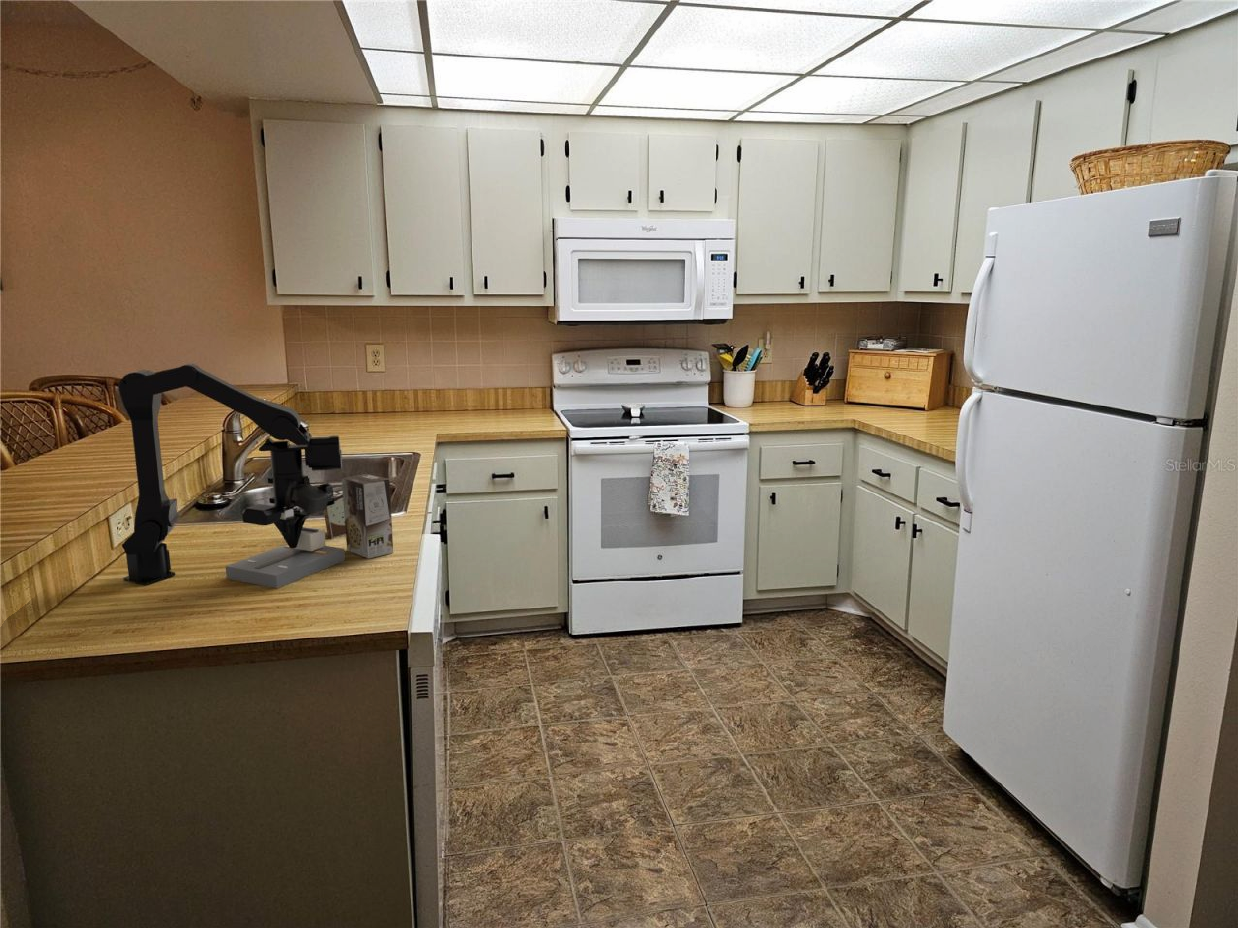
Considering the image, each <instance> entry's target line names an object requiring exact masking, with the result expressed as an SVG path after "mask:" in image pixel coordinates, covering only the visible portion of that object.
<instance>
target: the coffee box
mask: <svg viewBox="0 0 1238 928" xmlns="http://www.w3.org/2000/svg"><path fill="white" fill-rule="evenodd" d="M390 483H391V479H389V478H387V477H382V476H377V475H374V474H370V473H362V474H357V475H353V476H348V477H343V478H341V487H342V489H343V503H344V516H345V529H346V535H345V540H346V541H345V542H346V551H348V552H350V553H353V554H355V555H358V556H361V557H363V558H366V559H373V558H377V557H380V556H385V555H388V554H389V555H390V554H393V553H394V543H393V542H394V540H393V539H394V537H393V523H392V521H393V520H392V519H393V518H392V505H391V504H392V503H391V485H390Z"/></svg>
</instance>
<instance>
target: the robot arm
mask: <svg viewBox="0 0 1238 928" xmlns="http://www.w3.org/2000/svg"><path fill="white" fill-rule="evenodd" d="M117 384H118V386H117V390H118V394H119V397H120V399H121V403H122V408H124V410H125V411H124V412H125V413H126V414H127V416H128V418H129V420H130V423H131V430H132V431H131V432H132V442H133V449H134V450H133V451H134V460H135V467H136V468H135V471H136V479H137V488H138V498H137V499H138V500H137V505H136V508H135V512H134V522H133V523H134V524H133V533H132V534H131V535H130V536H129V537H128V538H127V539H126V540H124V542H123V543H121V548H122V549H123V551H124V553H125V556H126V557H125V558H126V566H127V576H125V577H123V581H125V582H131V583H135V584H140V585H144V586H145V585H150V584H153V583H155V582H159V581H161V580H164V579H167V578H171V577H174V576H175V575H176V572H174V571H171V570H172V565H171V557H170V550H169V549H168V546H167V543H163V542H164V541H166V538H167V536H168V535H169V534H170V533H171V532H172V530H173V529H174V528H175V527H176V523H177V521H178V520H179V519H181V518H180V515H179V514H178V509H177V507H178V499H177V498H176V497H175V498H171V499H170V498H169V496H168V495H167V493H166V489H165V481H164V473H163V472H164V471H163V461H162V453H161V444H160V443H161V442H160V440H161V439H160V432H159V422H158V421H159V420H158V418H159V417H158V416H159V412H160V408H161V403H162V396H163V395H162V394H163V393H166V392H169V391H175V390H177V389H181V388H185V387H187V388H190V389H192V390H194V391H195V392H198V393H200V394H201V395H204V396H206V397H207V398H209V399H211V400H214V401H215V402H216V403H217V402H218V403H219V404H221V405H223V406H225V407H227V408H229V409H231V410H233V411H235V412H237V413H239V414H241V415H243V416H245V417H246V418H248V419H249V420H251V422H253V423H254V424H255V425H256V426H257V427H259V428H260V429H261V430H262V431H263V432H265V433H266V434H268V435H269V436H268V437H267V438H266V439H265V441H264V443H263V444H261V445H260V447H258V450H259V451H260V452H270V453H269V454H270V465H271V476H269V477H267V483H268V484H272V490H273V491H272V492H273V496H272V497H269V500H268V501H269V504H270V505H268V504H261V503H258V504H255V505H251V506H248V507H245V508H244V510H242V523H246V524H252V525H258V526H269V525H271V524H274V525H275V527H276V528H277V530H278V531H279V533H280V534H281V535H282V537H283V539H284V540H285V542H286V545H287V544H288V545H289V547H290V548H296V547H297V544H298V541H299V538H300V534H301V531H302V527H304V524H305V522H306V521H307V520H308V519H309V518H310V516H312V515H315V514H316V513H318V512H320V511H322V512H324V510H326V507H327V506H330V505H333V504H334V495H333V488H334V487H333V484H331V483H329V482H326V483H322V484H320V485H313V484H311V483H310V482H311V480H310V477H309V476H308V475H305V474H304V467H303V466H304V465H303V464H304V463H303V452H302V451H303V450H304V461H305V467H308V468H310V469H311V470H312V471H315V472H316V471H330V470H332V471H333V470H343V458H342V457H343V454H342V453H343V452H342V449H341V443H340V435H338V434H336V435H329V436H313V435H312V434H311V433H310V431H308V430H307V428H306V427H304V425H303V424H302V421H301V417H300V414H299V413H298V411H297V410H295V409H294V408H293V407H292V408H291V407H290V406H286V405H283V404H279V403H277V402H273V401H269V400H265V399H262V398H259V397H256V396H255V395H252V394H250V393H249V392H247V391H244V390H243V389H241V388H239V387H237V386H236V385H233V384H232V383H229V382H227V381H225V380H224V379H221V378H220V377H218V376H216V375H214V374H212V373H210V372H207V371H206V370H204V369H203V368H201V367H200V366H199V365H197V364H194V363H187V364H184V365H181V366H179V367H174V368H169V369H165V370H161V371H157V372H156V371H155V372H153V371H151V370H149V369H140V370H136V371H133V372H130V373H127V374H126V375H124V376H123V377H122V378H121V379H120V380H119V382H118V383H117ZM271 437H272V438H274V439H276V440H273V439H272V438H271ZM290 442H291V443H290ZM292 443H293V444H292ZM271 504H273V505H271Z"/></svg>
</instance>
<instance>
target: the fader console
mask: <svg viewBox="0 0 1238 928" xmlns="http://www.w3.org/2000/svg"><path fill="white" fill-rule="evenodd" d="M345 555H346V554H345V548H340V547H335V546H331V545H326V546H324V547H322V548H319V549H316V550H314V551H306V550H300V549H294V548H290V547H289V545H288V544H287V543H286V544H284V545H282V546H279V547H276V548H272V549H271V550H267V551H264V552H262V553H259V554H255V555H254V556H251V557H248V558H245V559H241V560H239V561H236V562H234V563H230V564H228V565H225V575H226V580H232V581H236V582H237V581H238V582H242V583H248V584H252V585H259V586H263V587H268V588H273V589H279V588H282V587H285V586H286V585H288V584H291V583H293V582H296V581H298V580H301V579H304V578H306V577H309V576H311V575H313V574H316V573H318V572H320V571H323V570H325V569H329V568H330V567H332V566H336V565H337V564H339V563H343V562H345V561H346V556H345Z"/></svg>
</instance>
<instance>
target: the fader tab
mask: <svg viewBox="0 0 1238 928" xmlns="http://www.w3.org/2000/svg"><path fill="white" fill-rule="evenodd" d="M324 546H327V545H326V532H325V529H323V528H316V527H310V526H303V527H302V531H301V534H300V538H299V541H298V544H297V547H296V548H294V549H300V550H306V551H314V550H316V549H319V548H322V547H324Z"/></svg>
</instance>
